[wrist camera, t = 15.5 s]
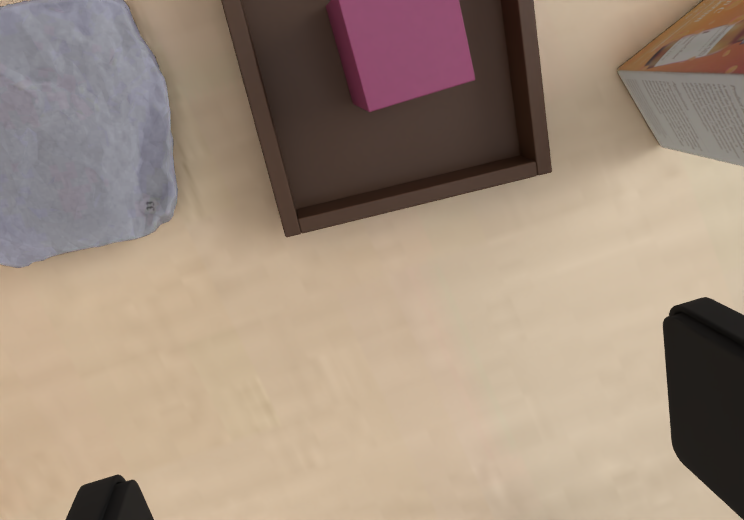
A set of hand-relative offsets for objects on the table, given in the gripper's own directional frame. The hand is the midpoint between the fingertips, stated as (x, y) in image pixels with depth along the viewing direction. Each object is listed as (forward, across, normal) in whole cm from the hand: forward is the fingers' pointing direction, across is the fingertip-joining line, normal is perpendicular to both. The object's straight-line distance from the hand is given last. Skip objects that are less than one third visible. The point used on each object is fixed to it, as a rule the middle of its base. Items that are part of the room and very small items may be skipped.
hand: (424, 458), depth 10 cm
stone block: (+24, +10, -6) cm, 27 cm away
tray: (+23, -5, -7) cm, 25 cm away
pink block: (+23, -5, -7) cm, 24 cm away
